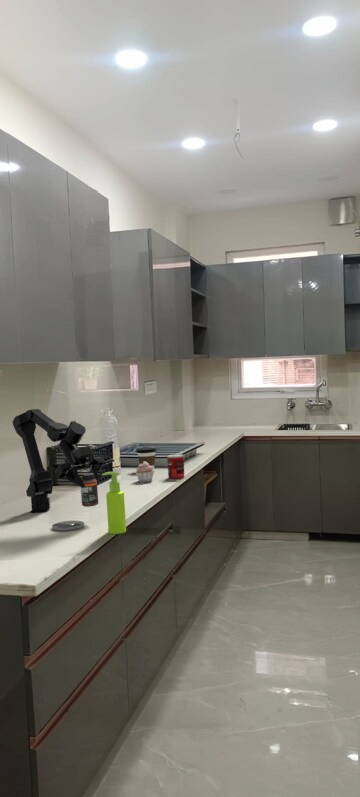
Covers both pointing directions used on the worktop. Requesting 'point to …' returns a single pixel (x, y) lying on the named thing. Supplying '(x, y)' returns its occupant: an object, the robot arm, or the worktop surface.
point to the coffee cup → (147, 456)
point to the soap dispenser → (115, 506)
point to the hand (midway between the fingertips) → (91, 485)
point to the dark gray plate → (68, 526)
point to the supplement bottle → (89, 490)
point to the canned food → (175, 466)
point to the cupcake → (144, 472)
